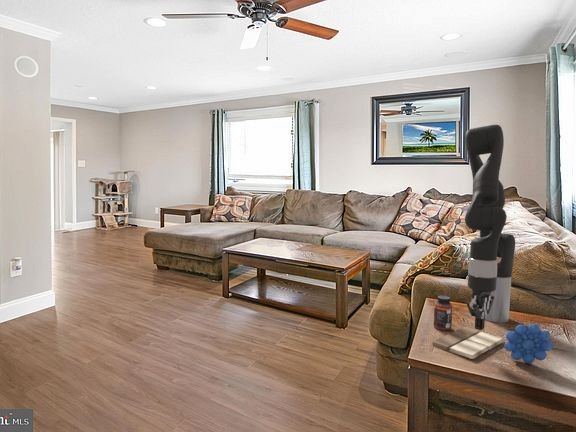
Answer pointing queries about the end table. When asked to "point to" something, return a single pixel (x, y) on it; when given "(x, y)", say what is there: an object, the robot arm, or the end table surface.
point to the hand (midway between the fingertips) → (479, 328)
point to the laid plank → (454, 338)
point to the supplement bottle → (443, 313)
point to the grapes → (528, 343)
